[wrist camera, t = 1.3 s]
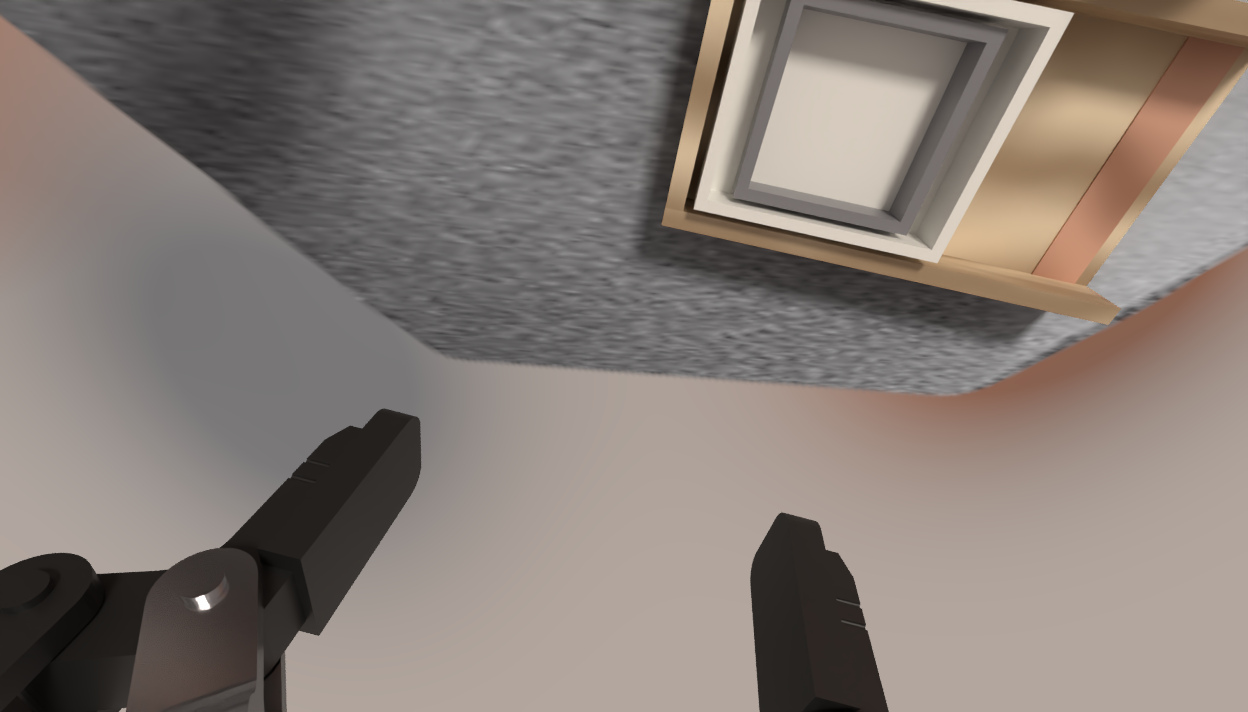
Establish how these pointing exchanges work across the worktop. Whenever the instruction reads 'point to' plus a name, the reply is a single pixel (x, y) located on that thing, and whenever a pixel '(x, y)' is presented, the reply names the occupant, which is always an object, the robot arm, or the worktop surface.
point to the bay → (1032, 152)
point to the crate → (870, 114)
